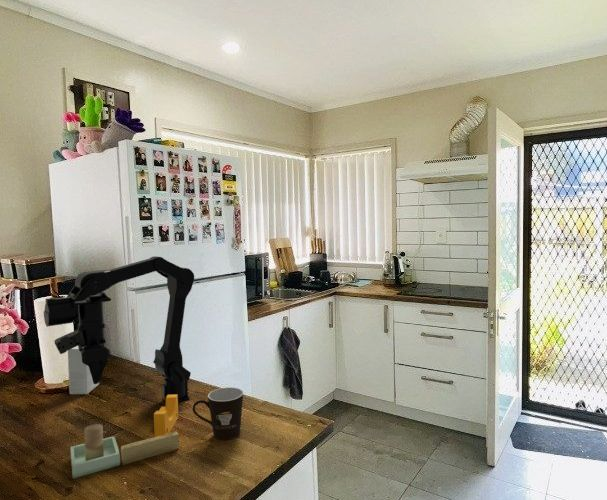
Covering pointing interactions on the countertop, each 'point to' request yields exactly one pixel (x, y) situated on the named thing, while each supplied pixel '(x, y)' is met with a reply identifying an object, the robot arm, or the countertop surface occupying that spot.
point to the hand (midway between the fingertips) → (94, 378)
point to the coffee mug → (224, 412)
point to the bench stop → (149, 447)
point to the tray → (94, 465)
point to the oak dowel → (93, 442)
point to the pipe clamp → (166, 416)
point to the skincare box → (79, 374)
